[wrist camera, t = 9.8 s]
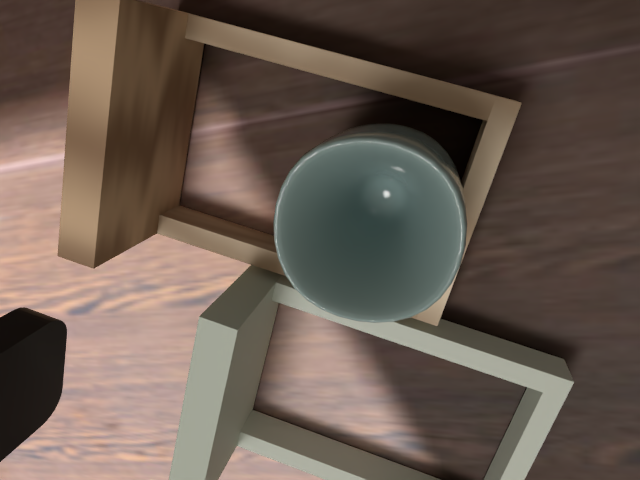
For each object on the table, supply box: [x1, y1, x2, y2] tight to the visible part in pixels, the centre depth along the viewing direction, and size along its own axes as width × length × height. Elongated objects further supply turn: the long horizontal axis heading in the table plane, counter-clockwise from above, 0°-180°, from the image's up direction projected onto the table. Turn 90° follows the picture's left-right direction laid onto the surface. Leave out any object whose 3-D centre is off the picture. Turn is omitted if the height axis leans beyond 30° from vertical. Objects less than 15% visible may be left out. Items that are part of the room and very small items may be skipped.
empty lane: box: [169, 265, 574, 480], centre depth 29 cm, size 12×19×8 cm, turn 76°
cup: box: [274, 123, 467, 323], centre depth 25 cm, size 8×8×10 cm
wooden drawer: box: [58, 0, 522, 326], centre depth 26 cm, size 12×19×8 cm, turn 76°
